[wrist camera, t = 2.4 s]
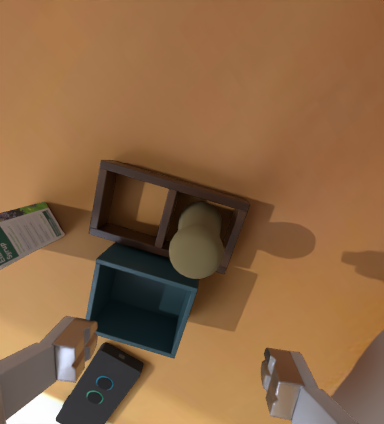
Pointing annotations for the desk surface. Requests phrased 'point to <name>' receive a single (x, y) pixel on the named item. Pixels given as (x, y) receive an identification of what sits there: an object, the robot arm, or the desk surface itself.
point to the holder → (175, 186)
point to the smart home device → (100, 387)
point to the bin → (140, 299)
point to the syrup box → (26, 232)
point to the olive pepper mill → (197, 241)
